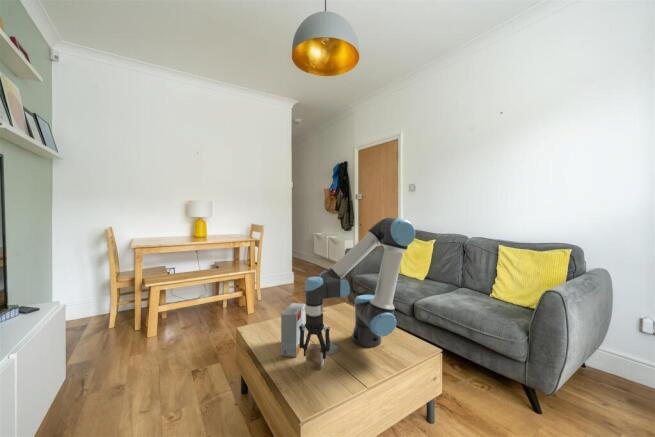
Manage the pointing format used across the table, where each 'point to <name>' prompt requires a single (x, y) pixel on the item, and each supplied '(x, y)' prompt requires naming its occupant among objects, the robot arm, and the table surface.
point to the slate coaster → (332, 349)
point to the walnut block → (313, 356)
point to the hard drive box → (292, 329)
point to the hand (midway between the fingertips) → (314, 364)
